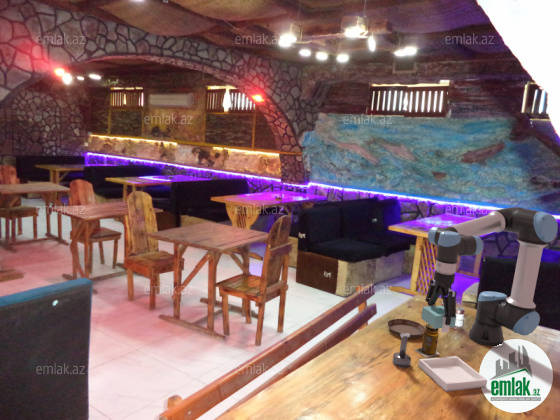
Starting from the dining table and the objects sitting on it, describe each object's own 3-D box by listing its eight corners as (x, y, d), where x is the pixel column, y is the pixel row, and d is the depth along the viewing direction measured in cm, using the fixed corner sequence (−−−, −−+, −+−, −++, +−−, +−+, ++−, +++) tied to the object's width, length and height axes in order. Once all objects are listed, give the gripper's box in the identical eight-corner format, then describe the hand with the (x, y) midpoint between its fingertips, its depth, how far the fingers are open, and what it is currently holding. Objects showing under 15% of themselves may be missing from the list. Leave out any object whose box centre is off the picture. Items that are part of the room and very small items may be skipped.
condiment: (440, 354, 193) (444, 328, 191) (427, 358, 188) (431, 331, 186) (426, 346, 199) (430, 321, 197) (413, 350, 194) (417, 324, 192)
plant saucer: (381, 332, 210) (382, 326, 209) (393, 320, 225) (393, 315, 224) (419, 344, 201) (420, 338, 200) (428, 331, 216) (429, 325, 215)
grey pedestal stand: (404, 358, 186) (408, 329, 184) (413, 367, 180) (417, 337, 177) (389, 359, 184) (393, 330, 182) (398, 368, 178) (402, 338, 175)
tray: (455, 362, 186) (456, 356, 186) (486, 387, 169) (487, 379, 169) (418, 366, 181) (419, 359, 180) (445, 391, 164) (447, 384, 163)
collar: (440, 317, 180) (442, 305, 179) (454, 327, 171) (456, 315, 170) (421, 318, 178) (422, 306, 177) (434, 328, 169) (436, 316, 168)
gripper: (420, 263, 180) (413, 315, 184) (454, 281, 159) (445, 340, 163) (436, 262, 182) (429, 314, 186) (472, 281, 161) (463, 338, 165)
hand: (437, 326), depth 175 cm, fingers closed on collar, 9 cm apart
